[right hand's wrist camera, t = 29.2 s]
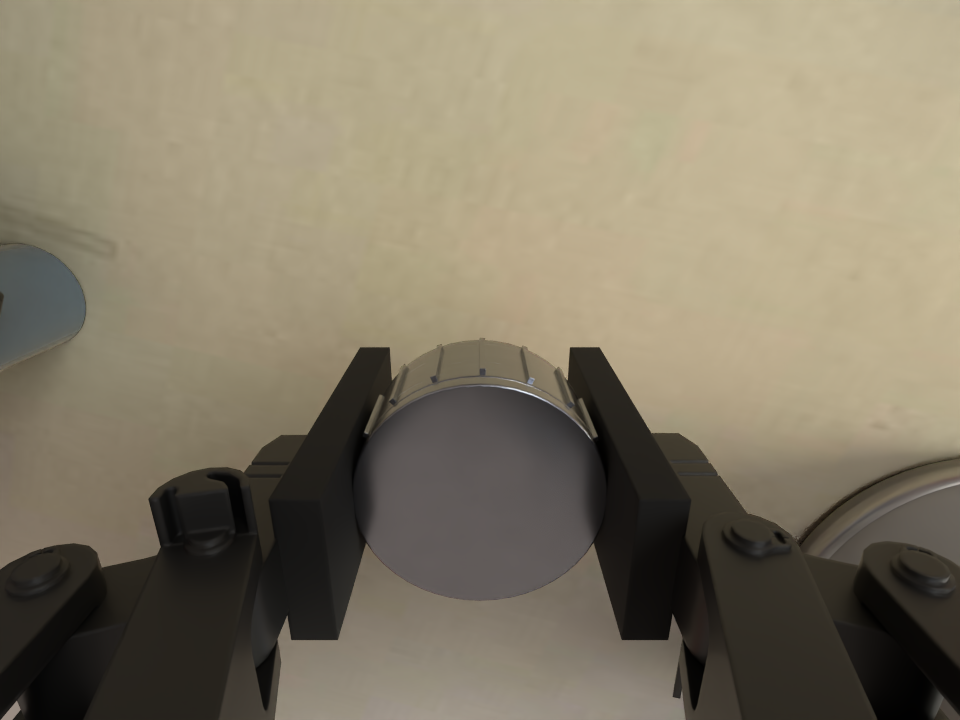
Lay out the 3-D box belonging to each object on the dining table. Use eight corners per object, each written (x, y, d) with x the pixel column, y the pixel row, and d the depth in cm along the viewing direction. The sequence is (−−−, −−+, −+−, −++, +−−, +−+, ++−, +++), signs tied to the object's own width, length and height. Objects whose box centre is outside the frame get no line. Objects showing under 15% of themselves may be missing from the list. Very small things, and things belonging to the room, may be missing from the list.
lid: (414, 300, 11) (398, 337, 9) (627, 384, 12) (661, 437, 9) (343, 488, 13) (315, 559, 10) (534, 552, 13) (545, 631, 11)
